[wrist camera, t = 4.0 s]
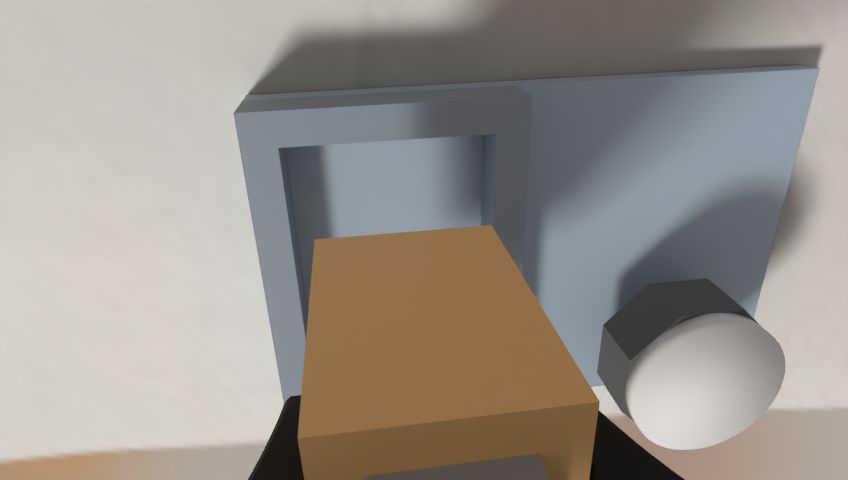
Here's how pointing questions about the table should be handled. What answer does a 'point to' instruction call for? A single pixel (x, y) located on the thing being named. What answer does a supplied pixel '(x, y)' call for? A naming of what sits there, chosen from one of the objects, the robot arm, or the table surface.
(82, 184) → the table surface
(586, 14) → the table surface
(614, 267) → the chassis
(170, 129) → the table surface
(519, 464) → the tan oblong block
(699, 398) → the wheel
